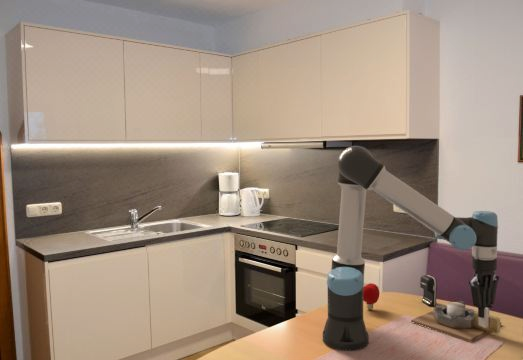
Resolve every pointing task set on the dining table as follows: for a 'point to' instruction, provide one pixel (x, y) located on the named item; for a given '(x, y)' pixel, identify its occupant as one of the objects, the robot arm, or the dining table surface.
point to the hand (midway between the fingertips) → (483, 326)
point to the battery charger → (429, 290)
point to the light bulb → (370, 295)
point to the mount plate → (460, 333)
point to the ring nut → (465, 319)
